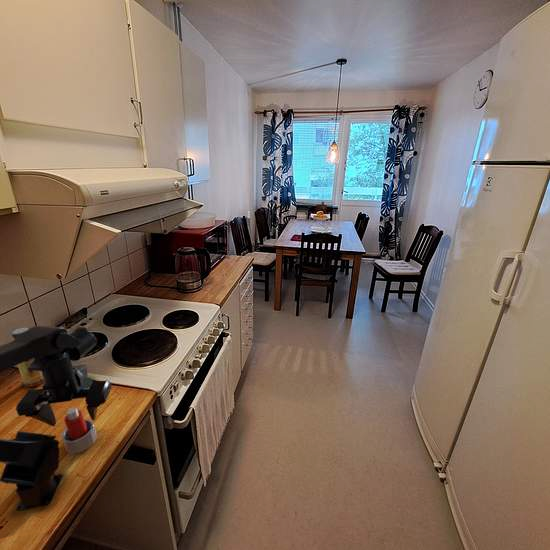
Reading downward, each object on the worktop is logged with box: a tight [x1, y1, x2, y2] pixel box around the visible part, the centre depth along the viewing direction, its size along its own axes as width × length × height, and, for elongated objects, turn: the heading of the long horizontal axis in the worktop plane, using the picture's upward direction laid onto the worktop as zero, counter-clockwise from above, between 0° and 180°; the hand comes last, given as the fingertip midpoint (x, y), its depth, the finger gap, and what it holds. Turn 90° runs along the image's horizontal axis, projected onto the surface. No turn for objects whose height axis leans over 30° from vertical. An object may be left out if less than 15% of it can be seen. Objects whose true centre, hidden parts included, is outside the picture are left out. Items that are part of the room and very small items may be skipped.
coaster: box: [79, 376, 93, 389], centre depth 95 cm, size 7×7×1 cm
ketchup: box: [64, 406, 88, 441], centre depth 74 cm, size 4×4×11 cm
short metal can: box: [61, 418, 98, 455], centre depth 76 cm, size 7×7×4 cm
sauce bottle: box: [11, 327, 45, 388], centre depth 93 cm, size 6×6×20 cm
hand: (74, 421), depth 73 cm, fingers open, 9 cm apart
